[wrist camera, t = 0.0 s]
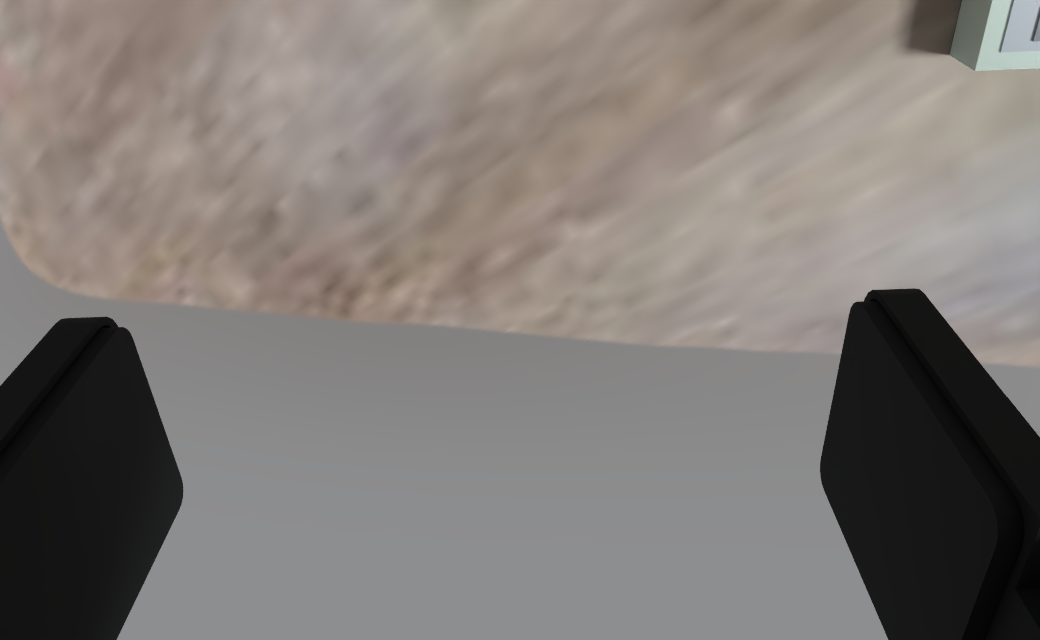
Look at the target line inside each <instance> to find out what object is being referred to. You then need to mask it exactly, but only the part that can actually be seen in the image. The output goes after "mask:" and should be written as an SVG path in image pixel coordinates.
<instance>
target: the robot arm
mask: <svg viewBox="0 0 1040 640" xmlns="http://www.w3.org/2000/svg"><path fill="white" fill-rule="evenodd" d="M820 473H821V481H822V485H823V488H824V491H825V493H826V495H827V498H828V500H829V503H830V505H831V507H832V509H833V512H834V514H835V517H836V519H837V521H838V524H839V526H840V528H841V531H842V533H843V535H844V537H845V540H846V542H847V544H848V547H849V549H850V551H851V554H852V556H853V558H854V561H855V563H856V565H857V568H858V570H859V572H860V575H861V577H862V579H863V582H864V584H865V586H866V589H867V591H868V593H869V596H870V598H871V600H872V603H873V605H874V607H875V609H876V612H877V614H878V616H879V619H880V621H881V623H882V625H883V628H884V630H885V633H886V635H887V637H888V640H1040V437H1039V436H1038V435H1037V434H1036V432H1035V431H1034V430H1033V429H1032V427H1031V426H1030V425H1029V423H1028V422H1027V421H1026V420H1025V418H1024V417H1023V416H1022V415H1021V413H1020V412H1019V411H1018V410H1017V409H1016V407H1015V406H1014V405H1013V404H1012V402H1011V401H1010V400H1009V398H1008V397H1006V395H1005V394H1004V393H1003V392H1002V390H1001V389H1000V388H999V387H998V385H997V384H996V383H995V382H994V380H993V379H992V378H991V377H990V375H989V374H988V373H987V372H986V370H985V369H984V368H983V366H982V365H981V364H980V363H979V361H978V360H977V359H976V358H975V356H974V355H973V354H972V353H971V351H970V350H969V349H968V348H967V346H966V345H965V344H964V343H963V341H962V340H961V339H960V338H959V336H958V335H957V334H956V333H955V331H954V330H953V329H952V328H951V326H950V325H949V324H948V323H947V321H946V320H945V319H944V318H943V316H942V315H941V314H940V313H939V311H938V310H937V309H936V308H935V306H934V305H933V304H932V303H931V301H930V300H929V299H928V298H927V296H926V295H925V294H924V293H923V292H922V291H921V290H920V289H890V290H872V291H870V292H869V293H868V294H867V296H866V298H865V300H864V302H855V303H854V304H853V305H852V307H851V310H850V313H849V318H848V323H847V328H846V334H845V339H844V344H843V349H842V354H841V359H840V364H839V369H838V375H837V380H836V385H835V390H834V395H833V400H832V405H831V410H830V415H829V420H828V425H827V431H826V436H825V441H824V446H823V451H822V456H821V462H820ZM182 498H183V483H182V478H181V475H180V472H179V470H178V467H177V464H176V461H175V458H174V455H173V452H172V450H171V447H170V445H169V441H168V438H167V435H166V432H165V429H164V426H163V424H162V421H161V418H160V415H159V412H158V409H157V406H156V404H155V401H154V398H153V395H152V392H151V389H150V387H149V384H148V381H147V378H146V375H145V372H144V369H143V366H142V363H141V361H140V358H139V355H138V352H137V349H136V346H135V343H134V340H133V338H132V336H131V333H130V332H129V331H128V330H127V329H126V328H123V327H118V326H117V324H116V323H115V322H114V320H113V319H111V318H108V317H91V318H66V319H61V320H60V321H58V322H57V323H56V324H55V325H54V326H53V327H52V328H51V329H50V330H49V332H48V333H47V334H46V335H45V336H44V337H43V338H42V340H41V341H40V342H39V343H38V344H37V345H36V346H35V348H34V349H33V350H32V351H31V352H30V353H29V354H28V355H27V356H26V358H25V359H24V360H23V361H22V362H21V363H20V365H19V366H18V367H17V368H16V369H15V370H14V371H13V372H12V373H11V375H10V376H9V377H8V378H7V379H6V380H5V381H4V382H3V384H2V385H1V386H0V640H116V639H117V637H118V635H119V633H120V631H121V629H122V627H123V625H124V623H125V621H126V619H127V617H128V615H129V613H130V610H131V608H132V606H133V604H134V602H135V600H136V598H137V596H138V594H139V592H140V590H141V588H142V586H143V584H144V581H145V579H146V577H147V575H148V573H149V571H150V569H151V567H152V565H153V563H154V561H155V559H156V557H157V554H158V552H159V550H160V548H161V546H162V544H163V542H164V540H165V538H166V536H167V534H168V531H169V530H170V528H171V525H172V523H173V521H174V519H175V517H176V515H177V513H178V511H179V509H180V506H181V503H182Z"/></svg>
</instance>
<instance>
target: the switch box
mask: <svg viewBox="0 0 1040 640" xmlns="http://www.w3.org/2000/svg"><path fill="white" fill-rule="evenodd" d="M950 56H952V57H953V58H955V59H957V60H958V61H960V62H962V63H963V64H965V65H966V66H968V67H970V68H971V69H973V70H975V71H983V70H1007V69H1031V68H1040V0H962V3H961V7H960V11H959V16H958V20H957V25H956V29H955V33H954V38H953V42H952V47H951V51H950Z"/></svg>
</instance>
